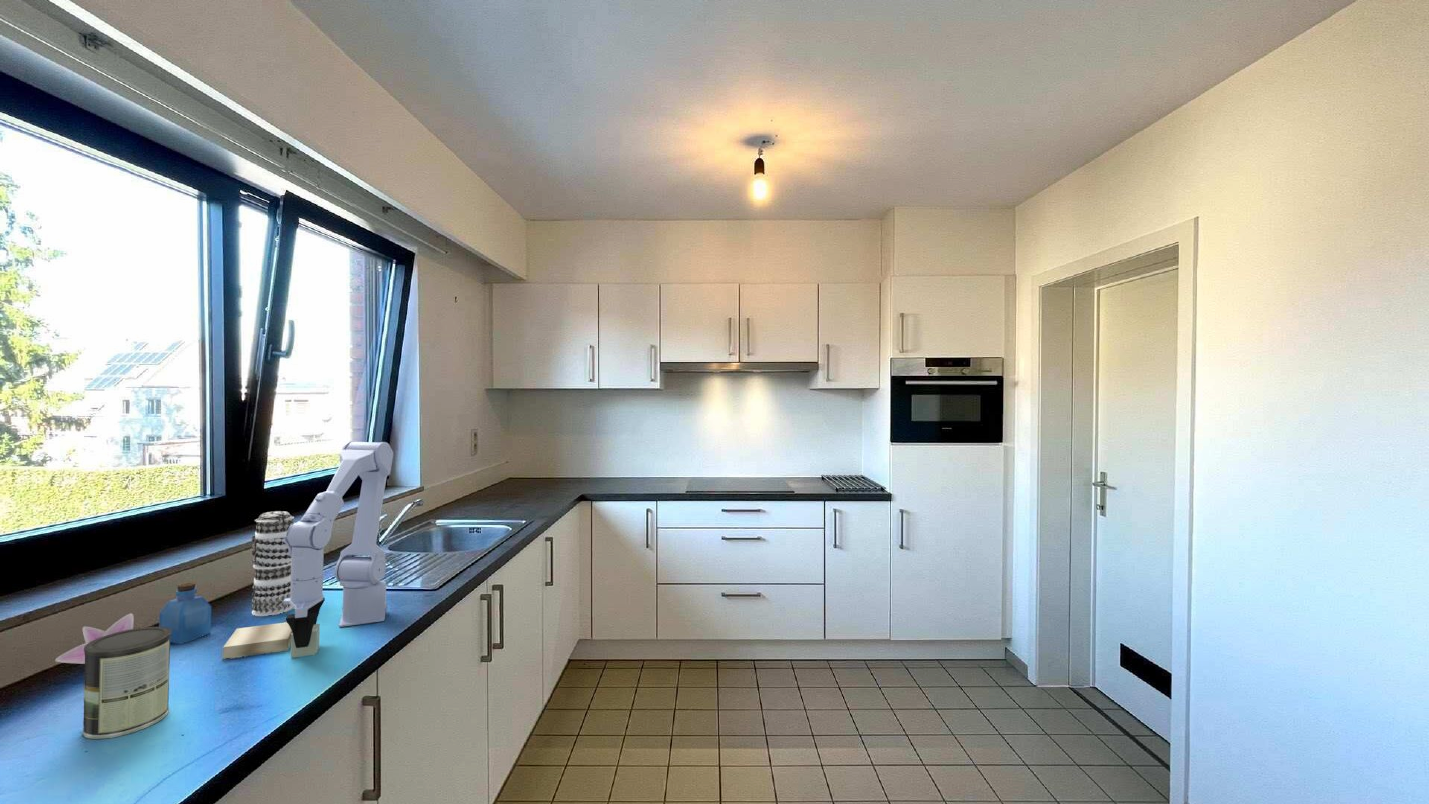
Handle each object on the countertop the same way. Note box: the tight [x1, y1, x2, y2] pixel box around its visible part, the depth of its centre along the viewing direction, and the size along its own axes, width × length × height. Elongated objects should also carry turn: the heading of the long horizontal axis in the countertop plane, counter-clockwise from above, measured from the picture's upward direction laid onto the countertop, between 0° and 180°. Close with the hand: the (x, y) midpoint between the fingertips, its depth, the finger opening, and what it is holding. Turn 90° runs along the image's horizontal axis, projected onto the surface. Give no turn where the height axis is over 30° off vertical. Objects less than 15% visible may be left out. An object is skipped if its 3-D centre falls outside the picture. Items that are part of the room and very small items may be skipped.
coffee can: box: [82, 626, 171, 740], centre depth 97 cm, size 10×10×14 cm
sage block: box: [290, 623, 321, 659], centre depth 125 cm, size 4×4×5 cm
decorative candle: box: [251, 510, 295, 617], centre depth 148 cm, size 9×9×25 cm
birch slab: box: [222, 621, 292, 660], centre depth 128 cm, size 11×11×3 cm
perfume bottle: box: [158, 581, 212, 645], centre depth 131 cm, size 6×6×12 cm
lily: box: [54, 613, 135, 665], centre depth 114 cm, size 12×12×10 cm
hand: (305, 640), depth 125 cm, fingers open, 7 cm apart
